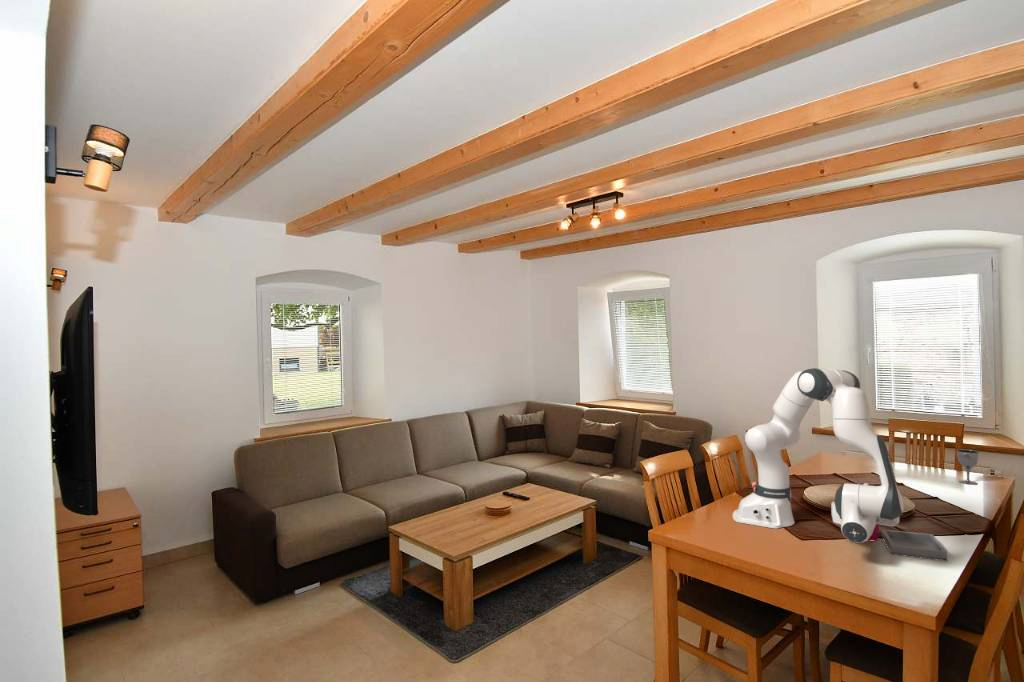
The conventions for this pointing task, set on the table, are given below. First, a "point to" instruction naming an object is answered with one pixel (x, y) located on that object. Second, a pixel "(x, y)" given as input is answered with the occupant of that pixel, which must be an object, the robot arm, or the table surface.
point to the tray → (914, 544)
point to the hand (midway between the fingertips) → (866, 507)
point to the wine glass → (968, 462)
